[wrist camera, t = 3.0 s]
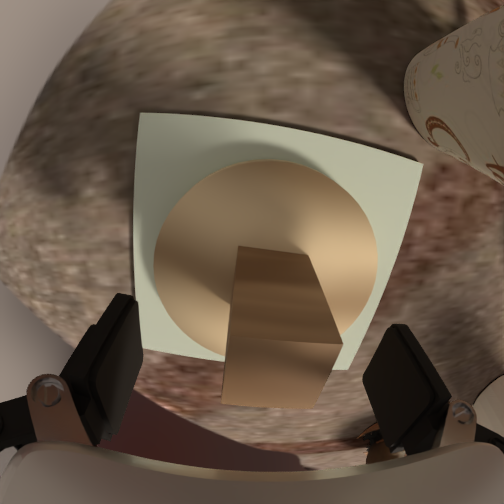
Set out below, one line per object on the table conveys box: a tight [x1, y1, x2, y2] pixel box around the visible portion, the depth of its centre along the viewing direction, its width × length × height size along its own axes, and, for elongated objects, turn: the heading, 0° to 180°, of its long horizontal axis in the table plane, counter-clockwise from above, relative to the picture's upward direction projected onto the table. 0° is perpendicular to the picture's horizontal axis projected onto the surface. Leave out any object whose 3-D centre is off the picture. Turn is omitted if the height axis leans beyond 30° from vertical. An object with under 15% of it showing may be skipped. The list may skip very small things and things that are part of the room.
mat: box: [133, 113, 423, 370], centre depth 15 cm, size 14×14×1 cm
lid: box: [153, 159, 378, 409], centre depth 11 cm, size 11×11×7 cm
